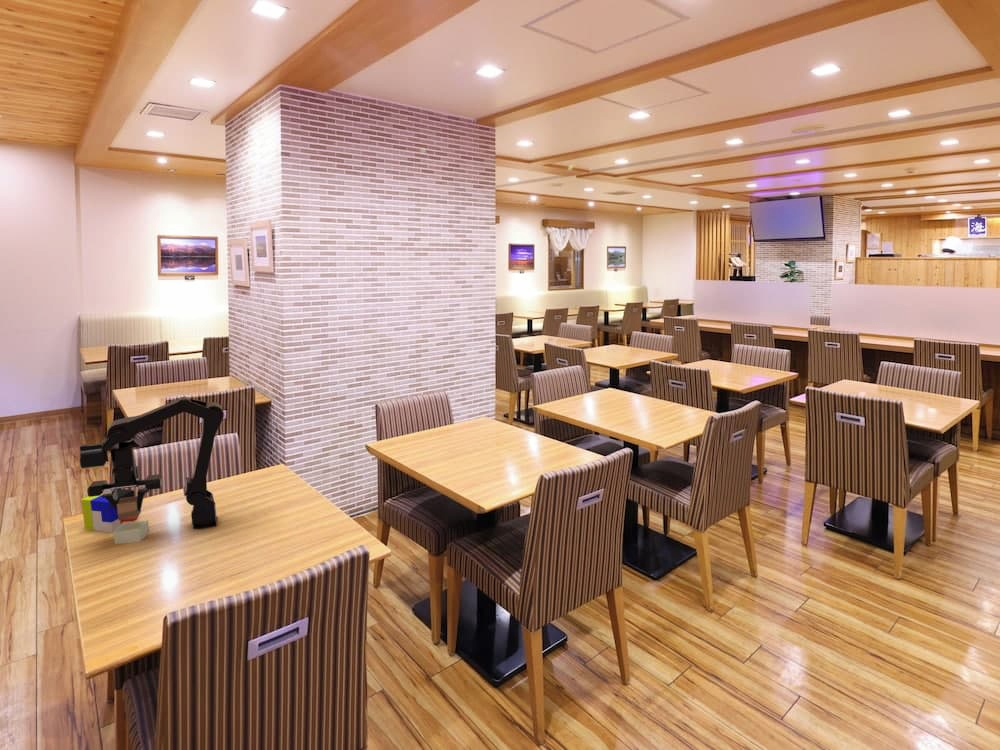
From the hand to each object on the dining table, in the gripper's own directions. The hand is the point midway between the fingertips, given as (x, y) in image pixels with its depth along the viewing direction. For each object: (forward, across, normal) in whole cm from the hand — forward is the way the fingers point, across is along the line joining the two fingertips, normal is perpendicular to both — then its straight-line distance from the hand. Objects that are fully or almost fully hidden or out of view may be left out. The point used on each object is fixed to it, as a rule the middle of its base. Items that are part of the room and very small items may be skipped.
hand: (129, 511), depth 183 cm
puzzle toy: (+9, +8, -13) cm, 18 cm away
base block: (+9, 0, 0) cm, 9 cm away
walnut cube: (+1, 0, 0) cm, 1 cm away
